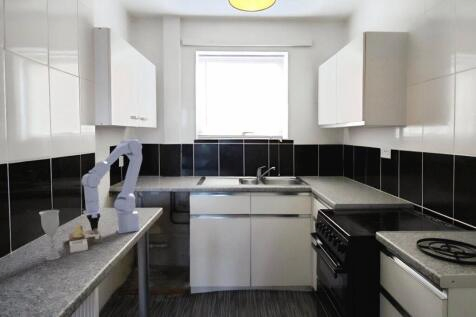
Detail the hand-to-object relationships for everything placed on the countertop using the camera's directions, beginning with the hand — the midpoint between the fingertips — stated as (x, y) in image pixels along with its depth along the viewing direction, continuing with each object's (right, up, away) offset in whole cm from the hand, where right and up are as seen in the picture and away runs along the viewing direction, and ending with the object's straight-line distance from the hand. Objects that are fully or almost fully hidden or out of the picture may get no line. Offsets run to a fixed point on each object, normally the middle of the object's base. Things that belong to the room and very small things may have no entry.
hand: (94, 230), depth 162 cm
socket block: (-3, -4, -2) cm, 6 cm away
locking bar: (+1, -1, -7) cm, 7 cm away
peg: (-4, -2, -5) cm, 7 cm away
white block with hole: (-1, -5, -13) cm, 14 cm away
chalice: (-7, -6, -22) cm, 24 cm away
